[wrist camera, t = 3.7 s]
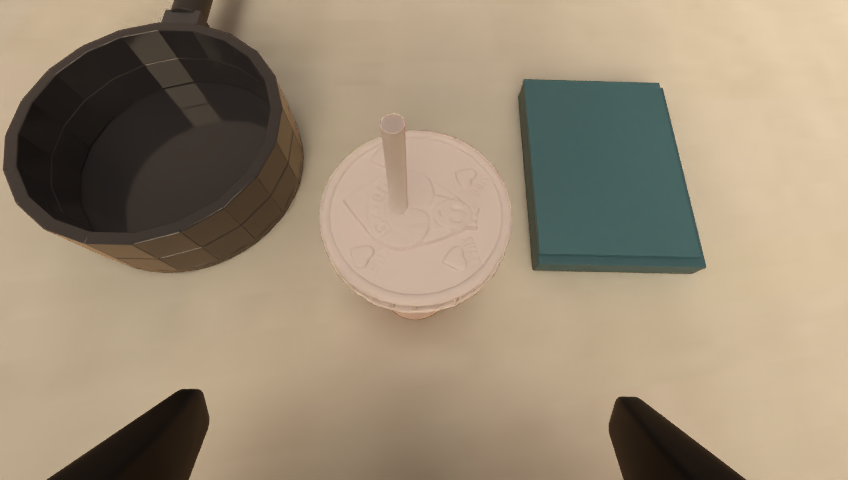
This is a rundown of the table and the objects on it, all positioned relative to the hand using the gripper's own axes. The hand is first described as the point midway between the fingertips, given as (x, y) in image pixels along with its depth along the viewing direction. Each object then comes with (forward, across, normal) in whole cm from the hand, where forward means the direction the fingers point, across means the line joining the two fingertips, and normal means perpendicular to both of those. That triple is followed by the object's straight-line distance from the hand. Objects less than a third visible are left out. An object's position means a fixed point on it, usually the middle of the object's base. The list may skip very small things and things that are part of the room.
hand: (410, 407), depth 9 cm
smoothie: (+13, 0, +4) cm, 14 cm away
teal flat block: (+18, -11, 0) cm, 21 cm away
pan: (+18, +14, 0) cm, 22 cm away
